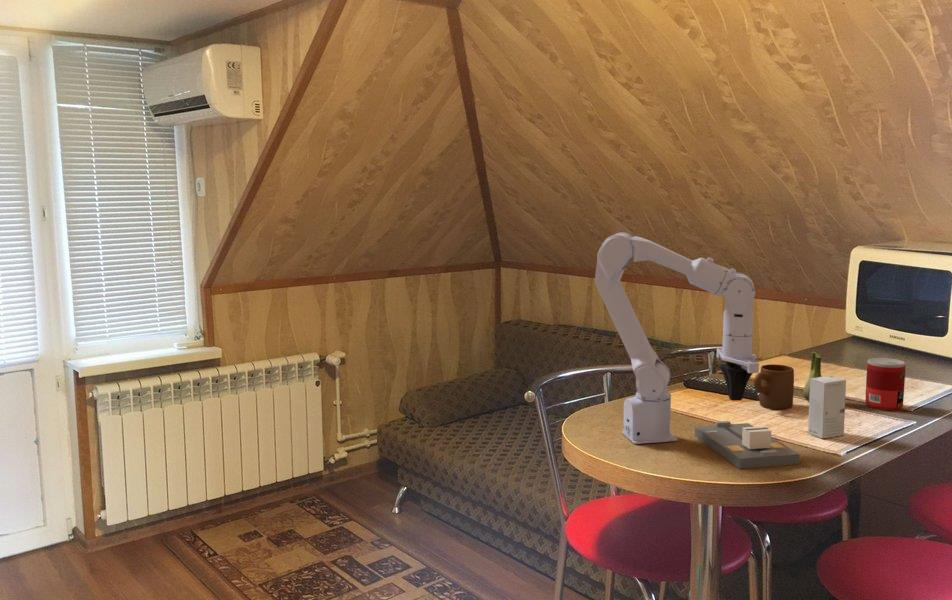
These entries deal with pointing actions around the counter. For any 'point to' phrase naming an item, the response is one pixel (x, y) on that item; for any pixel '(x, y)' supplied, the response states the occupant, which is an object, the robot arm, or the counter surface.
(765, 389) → the mug
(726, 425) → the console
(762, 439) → the fader knob
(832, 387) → the skincare box
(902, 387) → the canned food
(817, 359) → the fennel bulb
